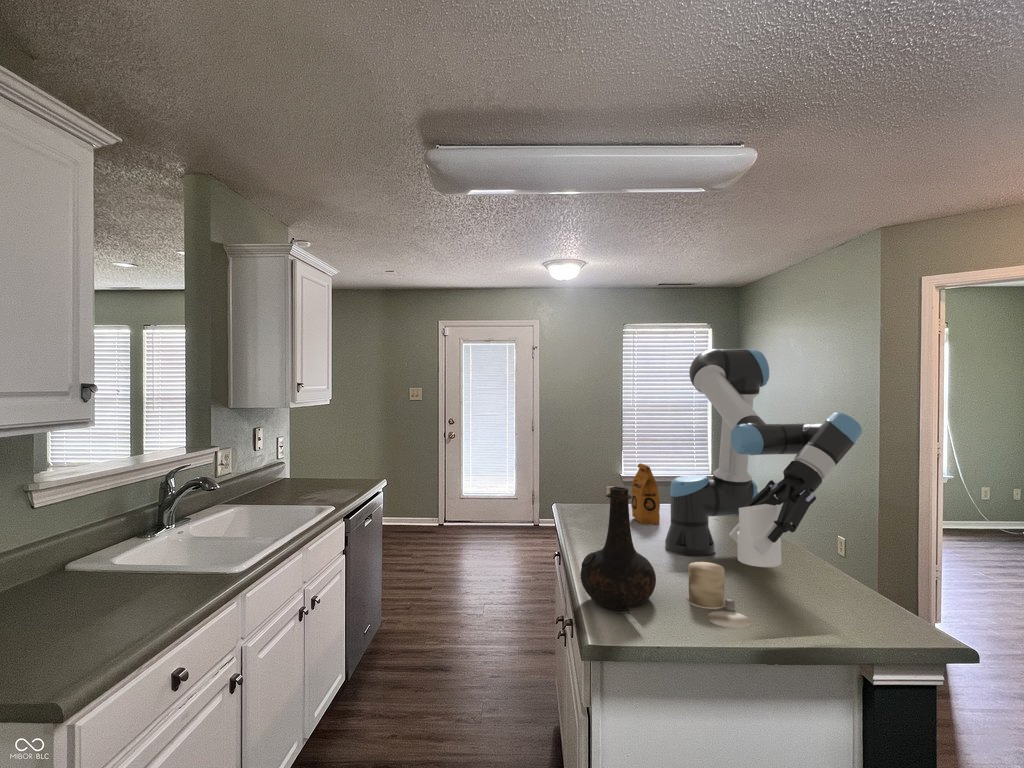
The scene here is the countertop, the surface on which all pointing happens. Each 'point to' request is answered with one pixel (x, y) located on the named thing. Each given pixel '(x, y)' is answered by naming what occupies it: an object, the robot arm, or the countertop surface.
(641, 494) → the coffee package
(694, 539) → the robot arm
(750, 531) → the cylinder with rectangular tab
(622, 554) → the glass bottle
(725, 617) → the board
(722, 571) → the oak cylinder
